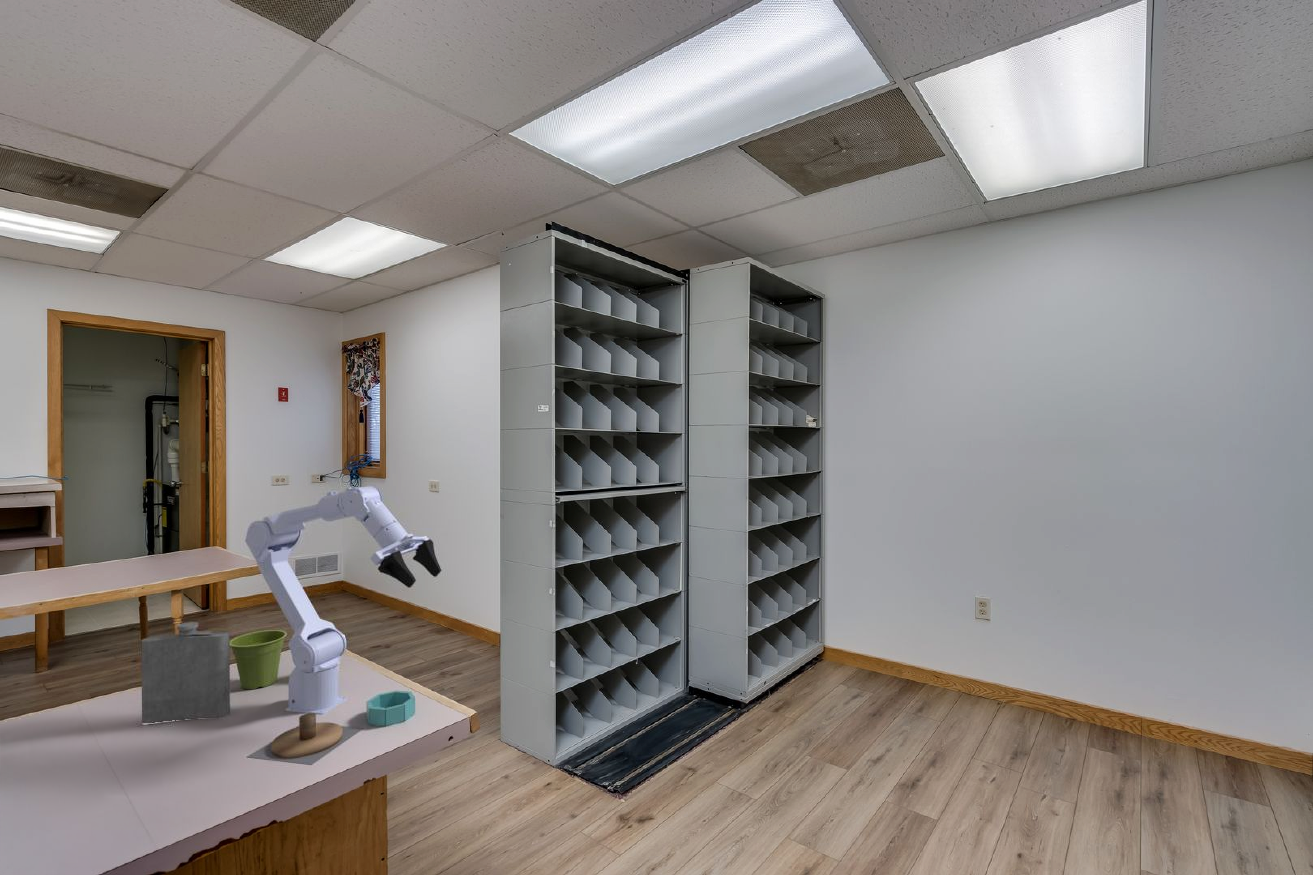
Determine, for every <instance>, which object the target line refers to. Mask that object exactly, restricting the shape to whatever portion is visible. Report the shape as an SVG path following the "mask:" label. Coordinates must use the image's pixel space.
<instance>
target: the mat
mask: <svg viewBox="0 0 1313 875" xmlns="http://www.w3.org/2000/svg"><path fill="white" fill-rule="evenodd" d="M340 726H341V727H342V738H341V740H340V741H339V742H338V743H337V744H335V745H334V746H332V747H330V748H328V749H326V750H324V751H322V752H319V753H316V754H313V755H309V756H305V757H298V758H281V757H277V756H275V755H273V754H272V752H271V744H272V742H273V740H271V742H268V743H267V744H266V745H264V746H262V747H260V748H259V749H257V750H256V751H254V752H252V753H251V754H249V755H247V756H246V758H250V759H257V760H267V761H275V762H283V763H291V764H301V765H308V766H309V765H310V766H313V765H314V764H315V763H317V762H318V761H320V760H321V759H323V758H324V757H325V756H327V755H328V754H330V753H331V752H332V751H334V750H335V749H337V748H339V747H340V746H341V745H342V744H344V743H345V742H347V741H348V740H349V739H351V738H353V737H354V736H355V735H357V734H358V733H360V732H361V731H362V730H364V727H356V726H345V725H340ZM296 727H299V725H297V726H296ZM296 727H294V728H296Z"/></svg>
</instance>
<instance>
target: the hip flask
mask: <svg viewBox="0 0 1313 875" xmlns="http://www.w3.org/2000/svg"><path fill="white" fill-rule="evenodd" d="M198 627H199V621H189V622H183V623H179V624H177V626H176V630H177V631H178V633H177V634H168V635H167V634H165V635H159V636H157V635H156V636H150V637H146V638H143V639H141V641H140V642H141V643H140V644H141V646H140V647H141V724H142V723H155V722H163V721H172V720H175V721H174V722H177V721H176V720H184V721H186V720H185V719H194V720H199V719H198V718H211V719H221V718H220V717H222V718H224V717H223V716H225V717H227V716H229V715H230V714H231V685H230V684H231V678H230V676H231V674H230V673H231V671H230V670H231V669H230V668H231V666H230V664H231V659H230V657H231V655H230V652H231V651H230V648H231V646H230V641H231V640H230V637H231V636H230V635H231V634H230V632H229V631H216V630H201V631H200V630H198ZM226 715H227V716H226Z"/></svg>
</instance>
